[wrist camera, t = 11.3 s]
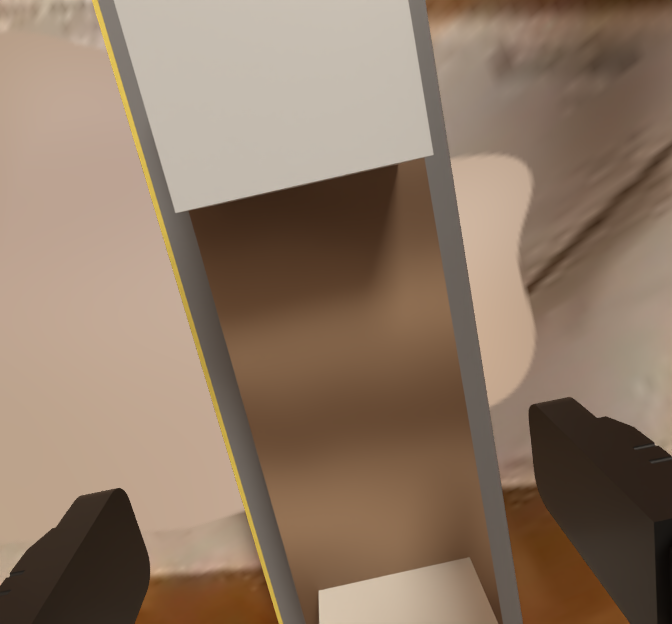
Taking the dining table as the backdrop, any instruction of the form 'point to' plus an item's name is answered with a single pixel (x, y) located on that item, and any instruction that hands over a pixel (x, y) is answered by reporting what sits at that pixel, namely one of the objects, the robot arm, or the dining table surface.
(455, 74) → the dining table surface
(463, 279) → the dock
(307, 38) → the block
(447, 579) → the block
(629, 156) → the dining table surface
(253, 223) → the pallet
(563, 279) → the dining table surface
